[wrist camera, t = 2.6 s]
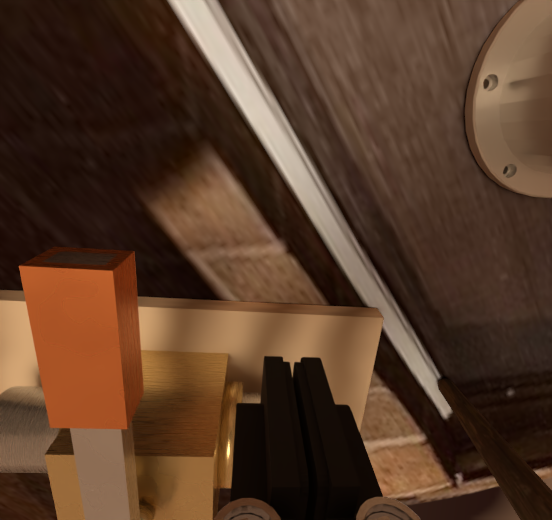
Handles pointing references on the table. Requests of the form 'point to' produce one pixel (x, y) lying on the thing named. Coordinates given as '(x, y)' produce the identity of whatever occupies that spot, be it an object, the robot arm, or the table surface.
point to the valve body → (142, 437)
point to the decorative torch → (501, 459)
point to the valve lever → (90, 366)
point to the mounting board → (228, 339)
